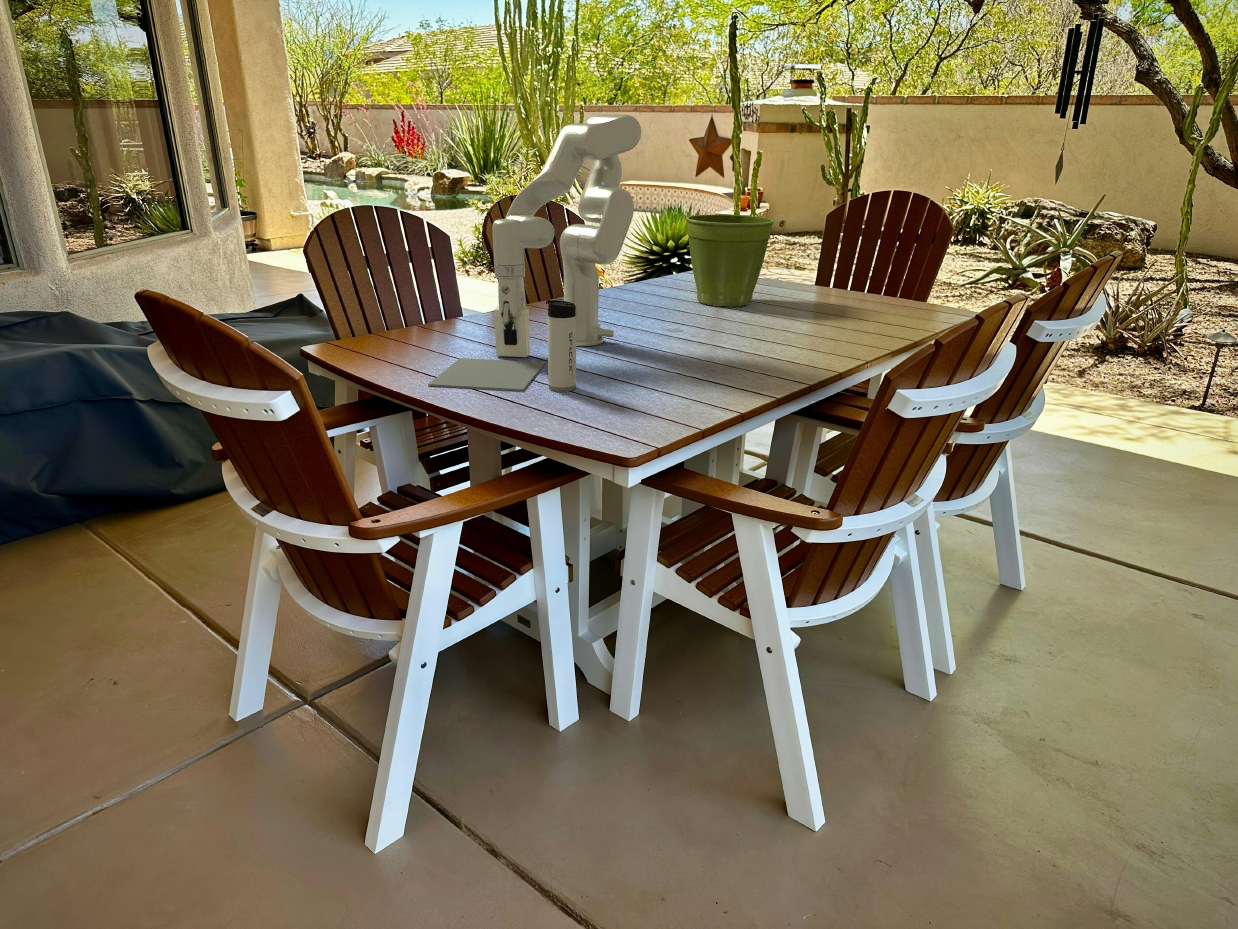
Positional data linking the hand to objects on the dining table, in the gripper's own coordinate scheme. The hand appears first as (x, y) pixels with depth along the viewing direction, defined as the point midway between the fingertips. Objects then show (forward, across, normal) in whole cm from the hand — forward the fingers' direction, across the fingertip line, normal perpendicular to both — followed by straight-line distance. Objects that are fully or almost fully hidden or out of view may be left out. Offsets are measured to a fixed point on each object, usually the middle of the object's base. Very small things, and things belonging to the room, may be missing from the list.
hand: (513, 341), depth 209 cm
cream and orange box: (+3, 0, 0) cm, 3 cm away
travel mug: (+4, -26, -18) cm, 32 cm away
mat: (+4, -18, +1) cm, 19 cm away
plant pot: (+6, +88, -55) cm, 103 cm away
